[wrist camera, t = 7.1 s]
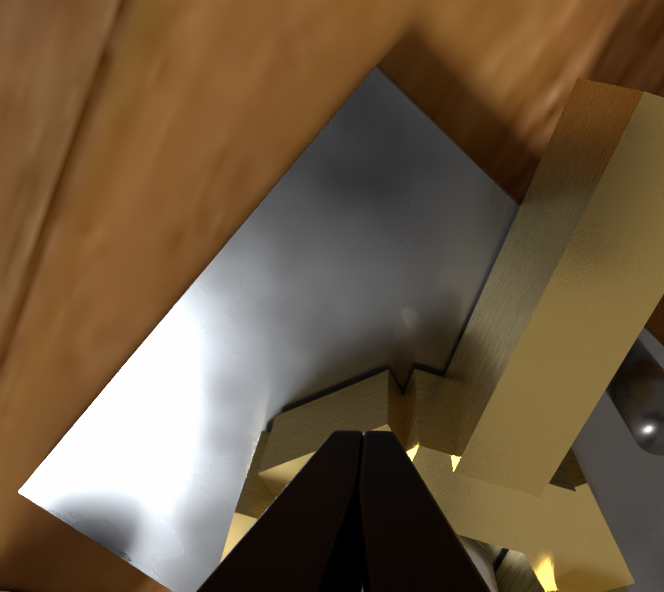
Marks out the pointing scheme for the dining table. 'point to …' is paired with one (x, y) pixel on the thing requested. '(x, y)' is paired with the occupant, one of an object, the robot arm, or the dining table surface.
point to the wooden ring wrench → (523, 360)
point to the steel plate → (328, 349)
